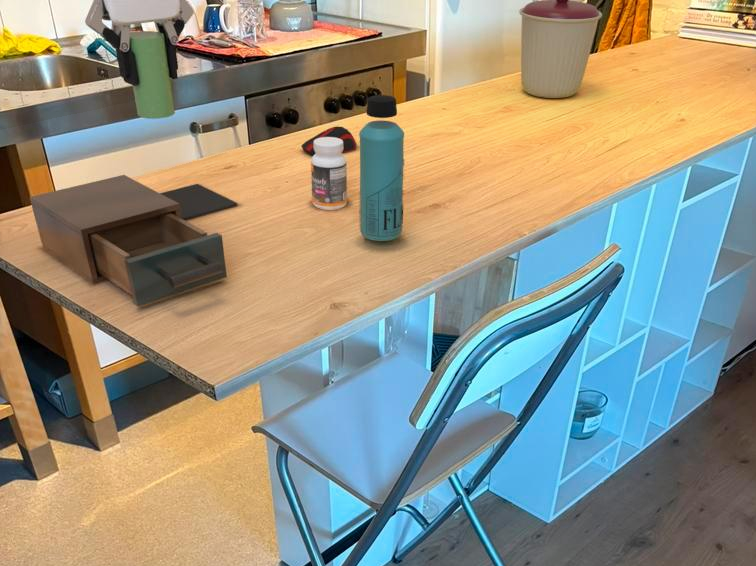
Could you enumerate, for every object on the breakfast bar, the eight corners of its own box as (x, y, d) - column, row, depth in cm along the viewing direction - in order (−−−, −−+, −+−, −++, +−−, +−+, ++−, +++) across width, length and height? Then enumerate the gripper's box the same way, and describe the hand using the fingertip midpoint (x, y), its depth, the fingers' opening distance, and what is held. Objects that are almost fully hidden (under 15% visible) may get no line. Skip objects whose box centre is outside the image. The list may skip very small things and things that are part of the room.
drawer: (246, 288, 107) (241, 245, 103) (156, 319, 100) (147, 274, 96) (170, 244, 118) (164, 204, 114) (85, 269, 111) (75, 228, 107)
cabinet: (187, 256, 117) (179, 203, 112) (93, 285, 109) (80, 229, 104) (133, 225, 125) (124, 174, 121) (43, 249, 118) (29, 196, 113)
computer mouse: (297, 152, 154) (296, 130, 151) (341, 141, 159) (340, 119, 157) (318, 160, 150) (317, 138, 147) (362, 149, 156) (362, 126, 153)
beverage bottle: (382, 255, 118) (384, 106, 105) (349, 242, 121) (347, 96, 108) (411, 242, 122) (416, 97, 109) (379, 230, 125) (380, 88, 112)
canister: (605, 97, 187) (624, -10, 174) (543, 107, 180) (558, -4, 167) (555, 80, 199) (569, -22, 185) (495, 88, 192) (505, -17, 178)
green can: (148, 120, 109) (135, 40, 103) (131, 112, 112) (117, 33, 106) (181, 114, 111) (170, 35, 105) (163, 106, 114) (151, 29, 108)
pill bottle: (305, 204, 133) (302, 140, 127) (332, 196, 136) (330, 133, 130) (327, 214, 130) (325, 149, 124) (354, 205, 133) (353, 141, 127)
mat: (173, 224, 126) (172, 220, 125) (134, 203, 132) (134, 199, 132) (237, 206, 132) (237, 203, 132) (197, 187, 139) (197, 183, 138)
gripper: (172, -93, 104) (192, 66, 115) (43, -87, 95) (78, 84, 107) (203, -88, 99) (220, 76, 111) (70, -82, 91) (104, 96, 103)
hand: (150, 78), depth 109 cm, fingers closed on green can, 5 cm apart
